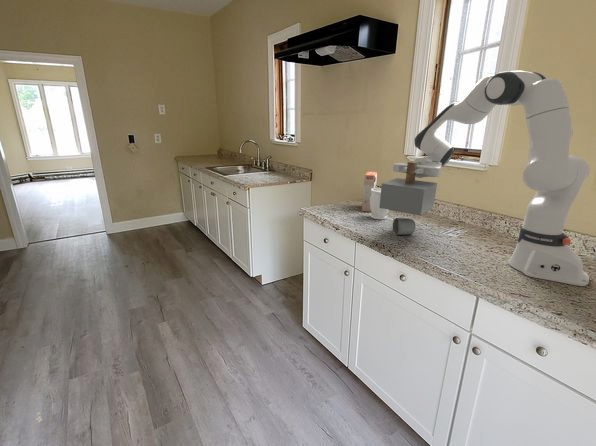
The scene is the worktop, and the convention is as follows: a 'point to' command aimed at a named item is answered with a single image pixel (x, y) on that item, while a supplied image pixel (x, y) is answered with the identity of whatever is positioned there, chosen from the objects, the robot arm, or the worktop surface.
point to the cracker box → (368, 189)
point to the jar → (377, 205)
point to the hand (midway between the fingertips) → (410, 171)
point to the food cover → (408, 193)
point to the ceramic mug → (403, 226)
